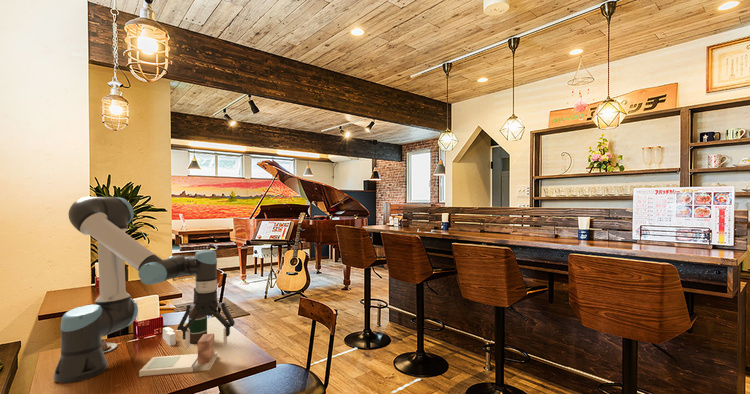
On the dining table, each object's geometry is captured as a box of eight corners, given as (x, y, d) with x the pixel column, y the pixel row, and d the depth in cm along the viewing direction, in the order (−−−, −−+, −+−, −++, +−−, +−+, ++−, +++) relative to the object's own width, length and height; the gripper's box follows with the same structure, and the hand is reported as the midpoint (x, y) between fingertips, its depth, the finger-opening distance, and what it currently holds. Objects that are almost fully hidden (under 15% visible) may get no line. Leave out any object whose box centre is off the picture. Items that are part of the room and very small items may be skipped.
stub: (194, 371, 134) (194, 344, 135) (203, 357, 146) (203, 332, 146) (209, 370, 135) (209, 343, 136) (217, 356, 147) (217, 331, 147)
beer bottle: (210, 337, 168) (210, 285, 168) (201, 344, 160) (201, 289, 160) (194, 337, 169) (194, 285, 169) (184, 343, 161) (184, 289, 161)
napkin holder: (160, 337, 170) (160, 325, 170) (187, 336, 172) (187, 324, 172) (147, 351, 155) (147, 337, 155) (176, 348, 157) (176, 335, 157)
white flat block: (139, 376, 131) (139, 370, 131) (152, 362, 143) (152, 356, 143) (193, 372, 134) (193, 366, 134) (202, 358, 146) (202, 353, 146)
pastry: (76, 358, 147) (76, 347, 147) (89, 347, 159) (89, 336, 159) (110, 354, 151) (110, 343, 151) (121, 343, 162) (121, 333, 162)
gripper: (167, 295, 135) (167, 352, 135) (238, 291, 140) (239, 347, 140) (174, 290, 142) (175, 345, 142) (241, 286, 147) (242, 339, 147)
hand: (206, 346), depth 141 cm, fingers open, 13 cm apart
